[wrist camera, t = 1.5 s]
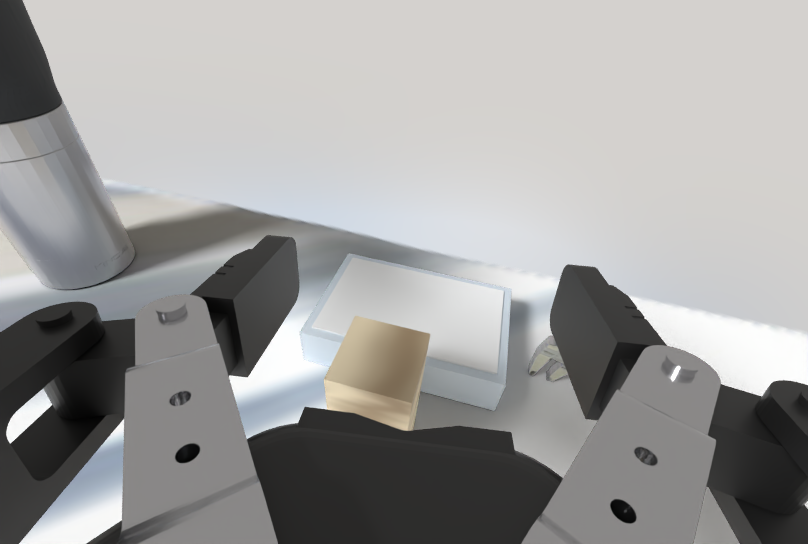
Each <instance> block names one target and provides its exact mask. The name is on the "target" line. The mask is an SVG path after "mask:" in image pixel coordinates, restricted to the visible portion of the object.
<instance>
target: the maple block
mask: <svg viewBox="0 0 808 544" xmlns="http://www.w3.org/2000/svg"><path fill="white" fill-rule="evenodd" d="M429 340H430V334H429V333H425V332H421V331H417V330H413V329H408V328H404V327H400V326H396V325H392V324H388V323H384V322H380V321H376V320H372V319H368V318H363V317H359V316H355V317H354V319H353V321H352V323H351V325H350V327H349V329H348V331H347V333H346V335H345V337H344V339H343V341H342V343H341V345H340V347H339V350H338V352H337V354H336V356H335V358H334V360H333V362H332V364H331V366H330V368H329V370H328V372H327V374H326V376H325V378H324V385H325V394H326V403H327V410H334V411H342V412H350V413H356V414H358V415H361V416H364V417H367V418H370V419H372V420H375V421H378V422H381V423H383V424H386V425H389V426H392V427H394V428H397V429H400V430H404V431H413V428H414V423H415V417H416V412H417V406H418V401H419V395H420V390H421V384H422V378H423V373H424V367H425V362H426V356H427V351H428V345H429Z"/></svg>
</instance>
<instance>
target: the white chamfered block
mask: <svg viewBox="0 0 808 544" xmlns="http://www.w3.org/2000/svg"><path fill="white" fill-rule="evenodd" d="M510 305H511V289H509V288H505V287H500V286H496V285H491V284H487V283H482V282H478V281H473V280H468V279H464V278H459V277H455V276H450V275H446V274H441V273H437V272H432V271H428V270H423V269H419V268H414V267H410V266H405V265H400V264H396V263H391V262H387V261H382V260H378V259H373V258H369V257H364V256H360V255H355V254H351V253H348V255H347V256H346V258H345V260H344V261H343V263H342V264H341V266H340V268H339V269H338V271H337V273H336V274H335V276H334V277H333V279H332V281H331V282H330V284H329V286H328V287H327V289H326V290H325V292H324V294H323V295H322V297H321V299H320V300H319V302H318V303H317V305H316V307H315V308H314V310H313V312H312V313H311V315H310V316H309V318H308V320H307V321H306V323H305V324H304V326H303V328H302V329H301V331H300V338H301V344H302V350H303V356H304V360H306V361H309V362H313V363H317V364H321V365H324V366H328V367H330V366H331V364H332V362H333V360H334V358H335V356H336V354H337V352H338V350H339V347H340V345H341V343H342V341H343V339H344V337H345V335H346V333H347V331H348V329H349V327H350V325H351V323H352V321H353V319H354V317H355V316H359V317H363V318H368V319H372V320H376V321H380V322H384V323H388V324H392V325H396V326H400V327H404V328H408V329H413V330H417V331H421V332H425V333H429V334H430V340H429V345H428V351H427V356H426V362H425V367H424V373H423V378H422V384H421V390H420V391H421V392H425V393H429V394H433V395H436V396H440V397H444V398H448V399H451V400H455V401H459V402H463V403H466V404H470V405H474V406H478V407H481V408H485V409H489V410H492V411H495V409H496V407H497V405H498V402H499V400H500V398H501V395H502V393H503V391H504V389H505V386H506V375H507V358H508V340H509V323H510Z"/></svg>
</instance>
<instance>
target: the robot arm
mask: <svg viewBox="0 0 808 544" xmlns="http://www.w3.org/2000/svg"><path fill="white" fill-rule="evenodd" d="M0 229H1V231H2V232H3V233H4V235H5V236H6V237H7V239H8V240H9V241H10V243H11V244H12V246H13V247H14V248H15V250H16V251H17V252H18V254H19V255H20V256H21V258H22V259H23V260H24V262H25V263H26V264H27V266H28V267H29V268H30V270H32V271H33V272H34V274H35V275H36V276H37V278H38V279H39V280H40V282H41V283H42V284H44V285H45V286H47V287H51V288H54V289H77V288H83V287H87V286H91V285H95V284H98V283H100V282H103V281H106V280H108V279H110V278H112V277H114V276H116V275H117V274H119V273H120V272H122V271H123V270H124V269H125V268H127V267H128V266H129V265H130V263H131V262H132V261H133V259H134V256H135V249H134V247H133V245H132V243H131V241H130V239H129V237H128V235H127V232H126V230H125V228H124V226H123V224H122V222H121V220H120V217H119V215H118V213H117V211H116V209H115V207H114V205H113V203H112V201H111V199H110V197H109V195H108V193H107V191H106V189H105V186H104V184H103V182H102V180H101V178H100V176H99V174H98V172H97V170H96V168H95V166H94V164H93V162H92V160H91V158H90V155H89V153H88V151H87V149H86V147H85V145H84V143H83V141H82V139H81V137H80V135H79V133H78V131H77V129H76V127H75V125H74V123H73V121H72V119H71V117H70V114H69V112H68V110H67V108H66V106H65V104H64V102H63V101H62V98H61V96H60V94H59V92H58V90H57V88H56V86H55V83H54V80H53V76H52V73H51V70H50V67H49V63H48V59H47V57H46V54H45V51H44V49H43V47H42V44H41V42H40V40H39V38H38V35H37V33H36V31H35V29H34V27H33V24H32V22H31V20H30V17H29V15H28V13H27V10H26V8H25V6H24V3H23V1H22V0H0ZM298 293H299V274H298V263H297V251H296V243H295V240H294V239H293V238H292V237H281V236H271V235H267V236H266V237H264V238H263V239H262V240H261V241H260V242H259V243H258V244H257V245H256V246H255V247H254V248H253V249H248V250H246V251H243V252H241V253H239V254H237V255H235V256H233V257H232V258H231V259H230V260H228V261H227V262H226V263H225V264H224V266H223V267H221V268H219V269H218V270H217V271H216V272H215V274H213V275H212V276H210V277H209V278H208V279H207V280H206V281H205V282H204V283H203V284H201V285H200V286H199V287H198V288H197V289H196V290H195V291H194V292H192V293H191V294H190V295H174V296H168V297H164V298H161V299H158V300H156V301H153V302H151V303H149V304H148V305H146V306H144V307H143V308H142V309H141V310H140V311H139V312H138V313H137V315H136V317H135V319H124V320H112V321H101V318H100V316H99V313H98V311H97V308H96V307H95V306H94V305H93V304H90V303H86V302H68V303H61V304H56V305H53V306H49V307H46V308H43V309H40V310H38V311H35V312H33V313H31V314H29V315H27V316H26V317H24V318H22V319H21V320H19V321H18V322H16V323H14V324H13V325H11V326H10V327H8V328H7V329H5V330H3V331H2V332H0V544H19V543H20V542H21V541H22V539H23V538H24V537H25V536H26V535H27V533H28V532H29V531H30V530H31V529H32V527H33V526H34V525H35V524H36V523H37V521H38V520H39V519H40V518H41V517H42V515H43V514H44V513H45V512H46V511H47V510H48V508H49V507H50V506H51V505H52V504H53V502H54V501H55V500H56V499H57V498H58V496H59V495H60V494H61V493H62V492H63V490H64V489H65V488H66V487H67V486H68V484H69V483H70V482H71V481H72V480H73V479H74V477H75V476H76V475H77V474H78V473H79V471H80V470H81V469H82V468H83V467H84V465H85V464H86V463H87V462H88V461H89V459H90V458H91V457H92V456H93V455H94V453H95V452H96V451H97V450H98V449H99V447H100V446H101V445H102V444H103V443H104V442H105V440H106V439H107V438H108V437H109V436H110V434H111V433H112V432H113V431H114V430H115V428H116V427H117V426H118V425H119V424H120V422H121V421H122V420H123V419H124V457H123V501H122V521H120V522H119V523H117V524H116V525H114V526H113V527H111V528H110V529H108V530H106V531H105V532H103V533H102V534H100V535H99V536H97V537H96V538H94V539H93V540H91V541H90V542H88V543H87V544H693V542H694V538H695V533H696V529H697V525H698V520H699V516H700V512H701V507H702V503H703V498H704V494H705V490H706V486H707V487H709V488H710V491H711V492H712V494H713V496H714V498H715V499H716V501H717V503H718V505H719V507H720V508H721V510H722V512H723V514H724V516H725V517H726V519H727V521H728V523H729V525H730V526H731V528H732V530H733V532H734V534H735V535H736V537H737V539H738V541H739V543H740V544H808V509H807V508H806V506H805V505H804V504H805V503H806V502H807V501H808V385H805V384H801V383H798V382H793V381H784V380H783V381H775V382H773V383H771V385H770V386H769V387H768V389H767V390H766V392H765V393H764V394H763V396H762V397H761V396H758V395H755V394H751V393H748V392H745V391H741V390H738V389H735V388H731V387H728V386H725V385H722V384H721V381H720V378H719V376H718V374H717V373H716V372H715V370H714V369H713V368H712V367H710V366H709V365H708V364H707V363H706V362H704V361H703V360H701V359H700V358H698V357H696V356H694V355H692V354H690V353H688V352H686V351H683V350H681V349H677V348H674V347H670V346H667V345H666V344H665V343H664V341H663V340H662V339H661V337H660V336H659V335H658V334H657V332H656V331H655V330H654V329H653V327H652V326H651V325H650V323H649V322H648V321H647V320H646V319H644V316H643V314H642V313H641V312H640V311H639V310H637V307H636V306H635V304H634V303H633V302H632V300H631V299H630V298H629V297H628V296H627V295H626V294H624V293H623V292H621V291H620V290H619V289H617V288H616V287H614V286H612V285H608V283H607V282H606V280H605V279H604V278H603V276H602V275H601V274H600V272H599V271H598V269H596V268H595V267H588V266H577V265H566V266H565V268H564V270H563V272H562V275H561V278H560V282H559V285H558V289H557V292H556V295H555V299H554V302H553V306H552V309H551V314H550V328H551V331H552V334H553V337H554V339H555V342H556V344H557V347H558V349H559V352H560V355H561V357H562V360H563V362H564V365H565V367H566V370H567V373H568V375H569V378H570V380H571V383H572V385H573V388H574V390H575V393H576V396H577V398H578V401H579V403H580V406H581V408H582V411H583V414H584V416H585V419H591V420H598V422H597V423H596V425H595V427H594V428H593V430H592V432H591V433H590V435H589V437H588V438H587V440H586V442H585V443H584V445H583V447H582V448H581V450H580V452H579V453H578V455H577V457H576V458H575V460H574V462H573V463H572V465H571V467H570V468H569V470H568V472H567V473H566V475H565V477H564V478H562V477H560V476H559V475H558V474H557V473H555V472H554V471H552V470H551V469H550V468H548V467H547V466H545V465H544V464H542V463H540V462H538V461H537V460H535V459H533V458H531V457H529V456H527V455H525V454H523V453H520V452H518V451H515V450H514V445H513V440H512V434H511V432H505V431H496V430H488V429H480V428H472V427H464V426H454V427H443V428H433V429H423V430H413V431H404V430H400V429H397V428H394V427H392V426H389V425H386V424H383V423H381V422H378V421H375V420H372V419H370V418H367V417H364V416H361V415H358V414H356V413H350V412H342V411H334V410H326V409H318V408H309V407H305V408H304V410H303V413H302V415H301V418H300V420H299V422H298V423H295V424H289V425H284V426H279V427H276V428H272V429H269V430H266V431H264V432H261V433H259V434H256V435H254V436H252V437H250V438H248V439H246V435H245V432H244V428H243V425H242V422H241V418H240V415H239V411H238V408H237V404H236V401H235V397H234V394H233V390H232V387H231V383H230V380H229V375H233V376H241V377H248V376H249V374H250V373H251V371H252V370H253V368H254V367H255V365H256V363H257V362H258V360H259V359H260V357H261V356H262V354H263V353H264V351H265V349H266V348H267V346H268V345H269V343H270V342H271V340H272V339H273V337H274V335H275V334H276V332H277V331H278V329H279V328H280V326H281V325H282V323H283V321H284V320H285V318H286V317H287V315H288V314H289V312H290V310H291V309H292V307H293V306H294V304H295V303H296V300H297V297H298ZM43 388H44V390H45V392H46V394H47V396H48V397H49V399H50V401H51V403H52V406H51V407H50V408H49V409H48V410H46V411H45V412H44V413H43V414H42V415H41V416H40V417H39V418H38V419H37V420H36V421H35V422H33V423H32V424H31V425H30V426H29V427H28V428H27V429H26V430H25V431H24V432H23V433H22V434H21V435H19V436H18V437H17V438H16V439H15V440H14V441H13V442H12V443H11V444H10V443H9V442H8V440H7V437H6V430H7V426H8V423H9V421H10V419H11V417H12V416H13V415H14V413H15V412H16V411H17V410H18V409H19V408H21V407H22V406H23V405H24V404H25V403H26V402H28V401H29V400H30V399H31V398H32V397H33V396H35V395H36V394H37V393H38V392H39V391H40V390H42V389H43Z"/></svg>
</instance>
